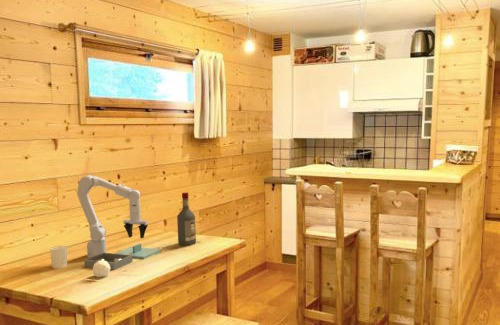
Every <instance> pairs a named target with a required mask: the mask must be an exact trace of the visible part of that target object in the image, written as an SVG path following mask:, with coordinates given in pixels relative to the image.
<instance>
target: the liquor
mask: <svg viewBox="0 0 500 325" xmlns="http://www.w3.org/2000/svg"><path fill="white" fill-rule="evenodd" d="M181 197H182V198H181V199H182V209H181V210H180V212H179V213H178V214H177V216H176V218H177V219H176V220H177V222H176V223H177V243H178V245H180V246H187V247H188V246H191V245H195V244H196V243H197V232H196V216H195V214H194V212H193V211H192V210H191V209H190V206H189V204H190V203H189V192H181Z"/></svg>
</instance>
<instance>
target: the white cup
mask: <svg viewBox="0 0 500 325" xmlns="http://www.w3.org/2000/svg"><path fill="white" fill-rule="evenodd" d="M49 251H50V260H51V266H52V267H51V268H52V269H62V268H66V267H67V266H68V246H67V245H57V246H53V247H50V248H49Z"/></svg>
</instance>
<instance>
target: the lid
mask: <svg viewBox="0 0 500 325" xmlns="http://www.w3.org/2000/svg"><path fill="white" fill-rule="evenodd" d="M160 253H161V249H160V248H149V247H148V248H147V247H142V243H137V244H135V245H132V246H129V247H127V248H125V249H123V250H120V251H118V252H115V253H114V254H123V255H132V259H140V260H145V259H147V258H150V257H152V256H155V255H156V256H157V255H158V254H160Z"/></svg>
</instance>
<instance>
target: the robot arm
mask: <svg viewBox="0 0 500 325" xmlns="http://www.w3.org/2000/svg"><path fill="white" fill-rule="evenodd" d="M77 184H78V186H77V191H76V195H77V197H78V200H79V203H80V205H81V208H82V211H83V213H84V216H85V218H86V219H87V222H88V225H89V228H88V229H89V232H90V235H89V237H90V240H88V241H87V244H86V252H87V254H86V258H91V257H94V256H96V255H99V254H101V253H107V243H106V242H107V241H106V240H107V239H106V237H105V236H106V234H107V230H106V228H105V227H104V226H103V225H102V223H101V222H100V221H99V218H98V216H97V214H96V211H95V208H94V206H93V204H92V201H91V199H90V196H89V192H90V191H91V189H92V188H93V187H94V188H95V187H103V188H105V189H108V190H110V191H113V192H114V194H115V195H117V196H119V197H122V198H125V199H127V200H129V208H128V209H129V219H124V220H122V222H123V224H124V225H123V228H124V229H125V231H126V232H127V236H128V238H133V226H134V225H138V226H137V227H138V230H139V237H140V239H144V238H145V233H146V230H147V228H148V224H149V221H148V220H144V219H142V215H141V212H142V211H141V210H142V209H141V199H140V198H141V192H140V191H139V190H137V189H134V188H133V187H128V186H125V184H124V183H122V184H121V183H120V184H115V183H113V182H111V181H108V180H107V179H104V178H101V177H99V176H96V175H93V174H88V175H85V176H83V177H81V178H80V179H79V181H78V183H77Z"/></svg>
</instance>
